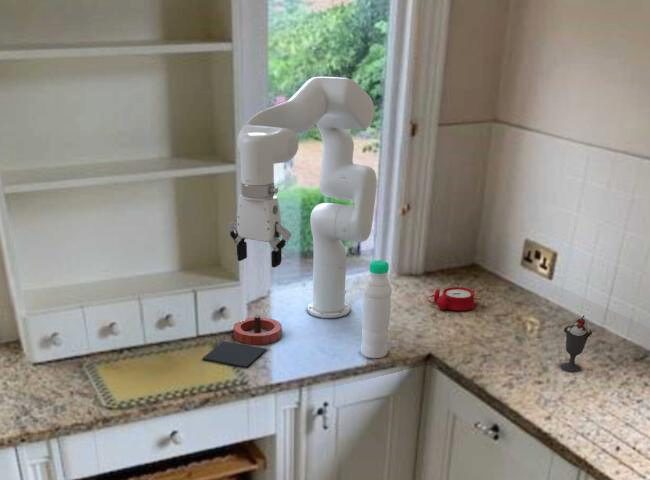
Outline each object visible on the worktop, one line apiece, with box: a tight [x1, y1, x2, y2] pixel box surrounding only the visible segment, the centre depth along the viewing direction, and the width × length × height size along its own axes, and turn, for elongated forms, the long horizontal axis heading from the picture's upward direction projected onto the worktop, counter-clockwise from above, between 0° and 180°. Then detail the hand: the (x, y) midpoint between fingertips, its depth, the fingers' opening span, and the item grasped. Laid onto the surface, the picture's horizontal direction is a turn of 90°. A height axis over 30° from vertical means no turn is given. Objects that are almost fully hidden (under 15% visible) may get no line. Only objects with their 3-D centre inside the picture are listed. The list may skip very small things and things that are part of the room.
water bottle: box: [360, 260, 393, 359], centre depth 206 cm, size 7×7×25 cm
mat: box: [202, 341, 267, 369], centre depth 213 cm, size 12×13×1 cm
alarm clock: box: [426, 286, 482, 312], centre depth 240 cm, size 10×6×15 cm
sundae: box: [560, 314, 593, 373], centre depth 200 cm, size 7×7×15 cm
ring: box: [232, 316, 283, 346], centre depth 224 cm, size 13×13×3 cm
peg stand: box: [248, 314, 267, 333], centre depth 223 cm, size 5×5×6 cm
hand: (259, 262), depth 193 cm, fingers open, 9 cm apart
